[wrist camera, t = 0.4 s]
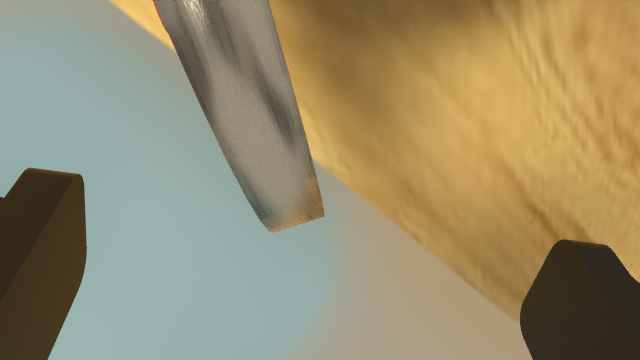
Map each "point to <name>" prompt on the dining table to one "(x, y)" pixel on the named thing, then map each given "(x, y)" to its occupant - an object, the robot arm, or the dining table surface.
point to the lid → (248, 102)
